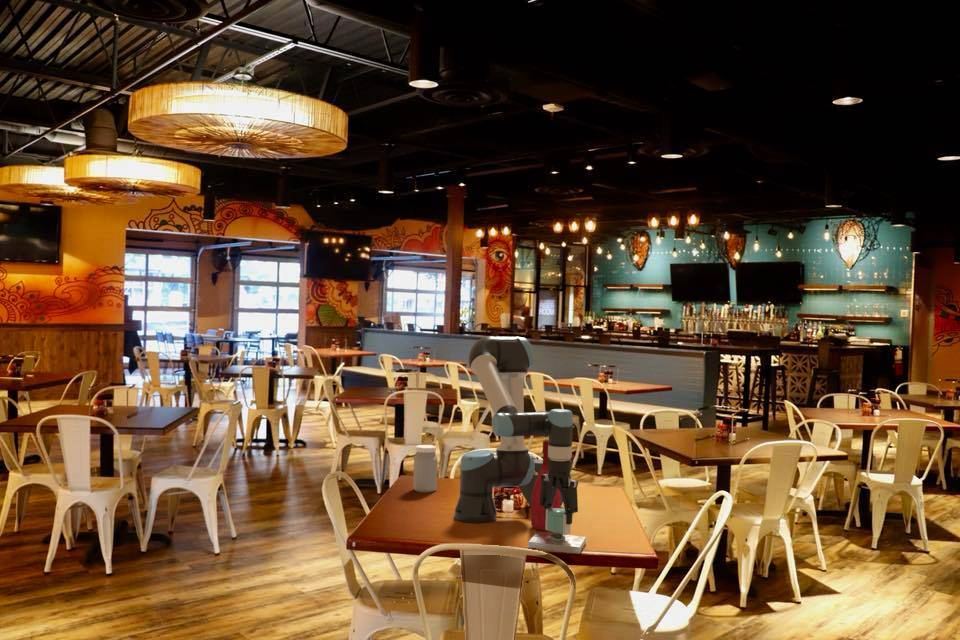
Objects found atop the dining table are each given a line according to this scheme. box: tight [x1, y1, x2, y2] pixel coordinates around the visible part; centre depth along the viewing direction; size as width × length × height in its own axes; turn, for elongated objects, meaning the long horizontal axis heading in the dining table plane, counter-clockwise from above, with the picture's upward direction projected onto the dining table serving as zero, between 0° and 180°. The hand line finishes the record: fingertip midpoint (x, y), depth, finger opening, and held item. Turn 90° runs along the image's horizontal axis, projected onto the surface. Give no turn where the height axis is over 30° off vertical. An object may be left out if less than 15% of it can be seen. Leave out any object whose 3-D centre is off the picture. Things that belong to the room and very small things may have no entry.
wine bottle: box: [530, 439, 561, 532], centre depth 269 cm, size 10×10×30 cm
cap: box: [547, 507, 565, 533], centre depth 249 cm, size 7×7×6 cm
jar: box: [412, 444, 438, 493], centre depth 322 cm, size 10×10×18 cm
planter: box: [517, 458, 569, 508], centre depth 298 cm, size 17×8×21 cm
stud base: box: [528, 531, 587, 554], centre depth 249 cm, size 16×12×10 cm
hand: (557, 531), depth 249 cm, fingers closed on cap, 7 cm apart
